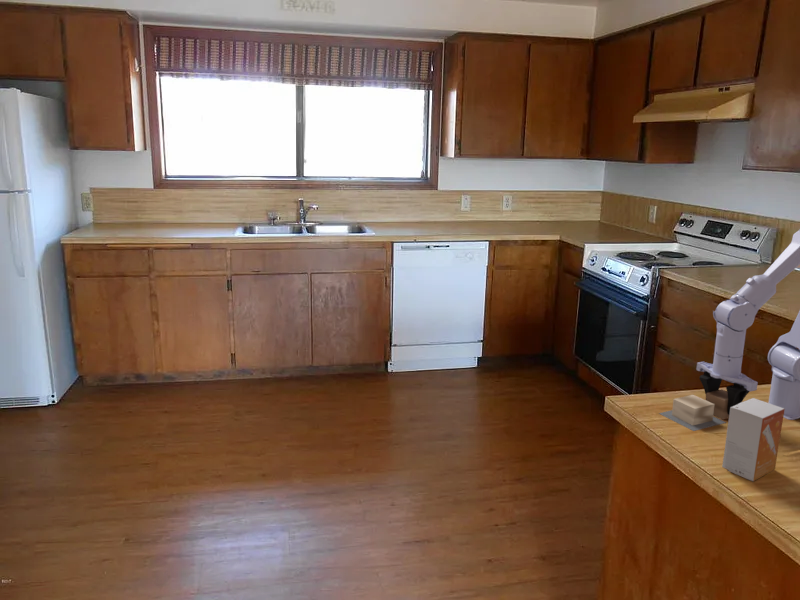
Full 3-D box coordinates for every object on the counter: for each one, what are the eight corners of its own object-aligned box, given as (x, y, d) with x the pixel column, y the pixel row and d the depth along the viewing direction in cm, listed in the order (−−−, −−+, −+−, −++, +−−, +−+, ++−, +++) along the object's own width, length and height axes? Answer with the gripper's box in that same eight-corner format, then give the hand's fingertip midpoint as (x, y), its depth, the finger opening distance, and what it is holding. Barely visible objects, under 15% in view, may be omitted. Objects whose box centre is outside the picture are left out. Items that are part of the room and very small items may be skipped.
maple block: (691, 410, 149) (692, 394, 148) (712, 420, 143) (714, 404, 142) (671, 415, 146) (673, 398, 146) (692, 425, 141) (694, 408, 140)
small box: (753, 482, 119) (763, 418, 115) (721, 468, 124) (729, 406, 121) (776, 470, 123) (785, 407, 120) (743, 457, 128) (752, 396, 125)
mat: (690, 407, 151) (690, 405, 151) (726, 424, 143) (726, 422, 142) (658, 414, 148) (658, 413, 148) (693, 432, 139) (693, 430, 139)
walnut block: (719, 409, 150) (721, 389, 149) (737, 417, 146) (740, 397, 145) (704, 412, 149) (706, 392, 147) (722, 421, 144) (724, 400, 143)
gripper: (689, 346, 148) (683, 400, 152) (744, 366, 136) (736, 424, 139) (711, 342, 151) (705, 395, 155) (767, 361, 138) (759, 419, 142)
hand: (721, 409), depth 147 cm, fingers closed on walnut block, 5 cm apart
